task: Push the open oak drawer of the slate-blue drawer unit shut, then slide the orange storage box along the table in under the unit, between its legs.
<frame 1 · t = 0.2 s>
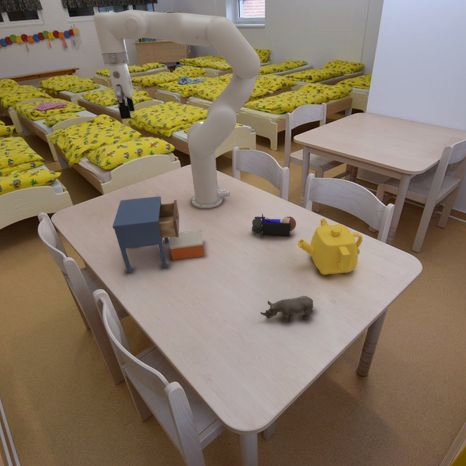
hand: (128, 114, 115), 37 cm above the table, tool pointing down, fingers open, 9 cm apart
rhino figurine: (287, 317, 85), on the table
drawer unit: (149, 255, 109), on the table
storage box: (187, 251, 110), on the table
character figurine: (273, 234, 116), on the table
drawer: (161, 219, 102), point 13 cm above the table, slide at 5.0 cm
teapot: (326, 264, 101), on the table
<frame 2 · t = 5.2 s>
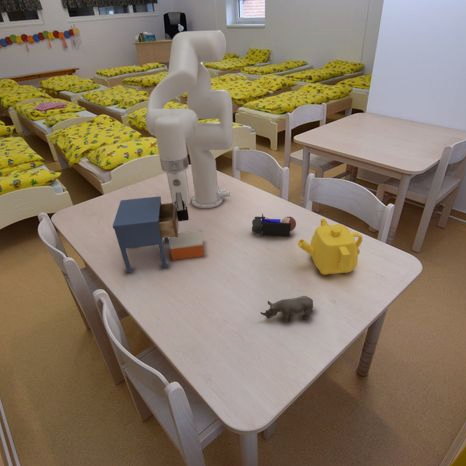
hand: (183, 219, 103), 12 cm above the table, tool pointing down, fingers closed
drawer: (160, 219, 102), point 13 cm above the table, slide at 4.8 cm, touching gripper
everything else where it was.
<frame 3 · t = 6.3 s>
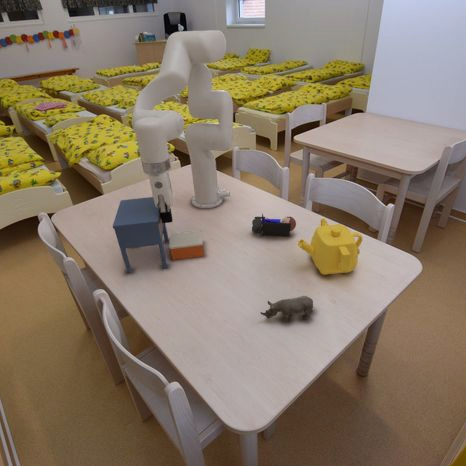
hand: (167, 221, 103), 12 cm above the table, tool pointing down, fingers closed
drawer: (144, 221, 102), point 13 cm above the table, slide at -0.1 cm, touching gripper
everything else where it was.
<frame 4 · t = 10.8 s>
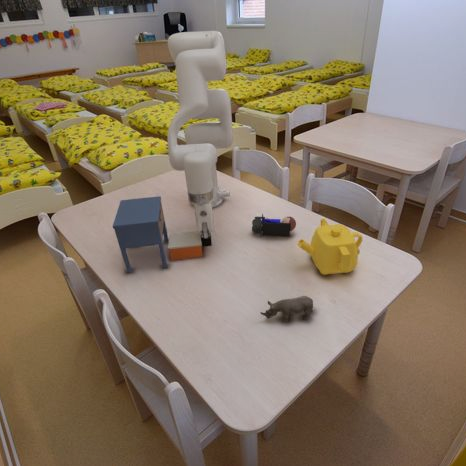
hand: (206, 244, 109), 2 cm above the table, tool pointing down, fingers closed
storage box: (186, 251, 110), on the table, touching gripper
drawer: (144, 221, 102), point 13 cm above the table, slide at 0.0 cm
everything else where it was.
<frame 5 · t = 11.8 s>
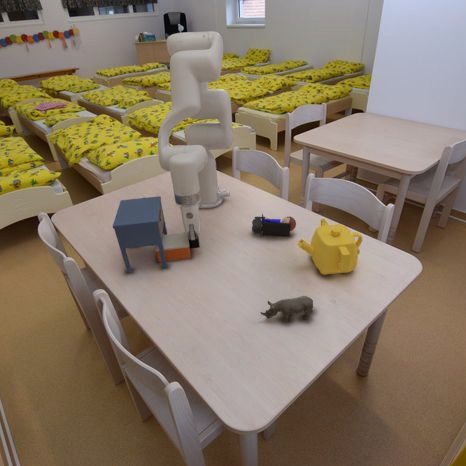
hand: (194, 246, 109), 2 cm above the table, tool pointing down, fingers closed
storage box: (174, 253, 109), on the table, touching gripper
everything else where it was.
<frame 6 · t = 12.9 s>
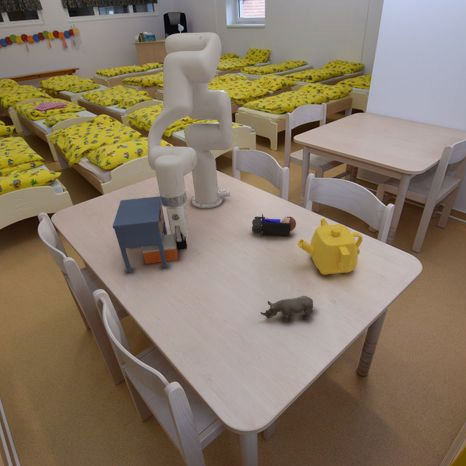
hand: (182, 248, 109), 2 cm above the table, tool pointing down, fingers closed
storage box: (162, 254, 109), on the table, touching gripper
everything else where it was.
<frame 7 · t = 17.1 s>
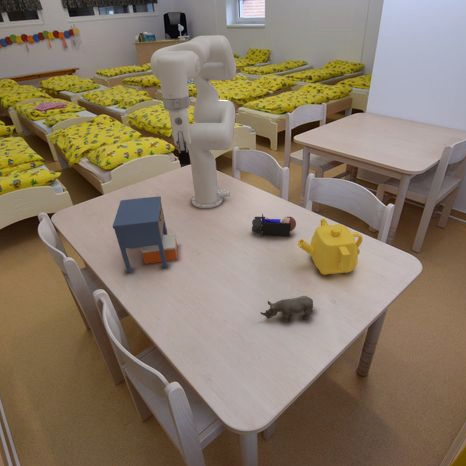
hand: (185, 163, 107), 25 cm above the table, tool pointing down, fingers closed
storage box: (161, 254, 109), on the table
everything else where it was.
at the end: drawer slide at 0.0 cm; storage box inside the target area on the drawer unit (4.0 cm from its centre), point 0.0 cm above the drawer unit's base; storage box tilted 0° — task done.
